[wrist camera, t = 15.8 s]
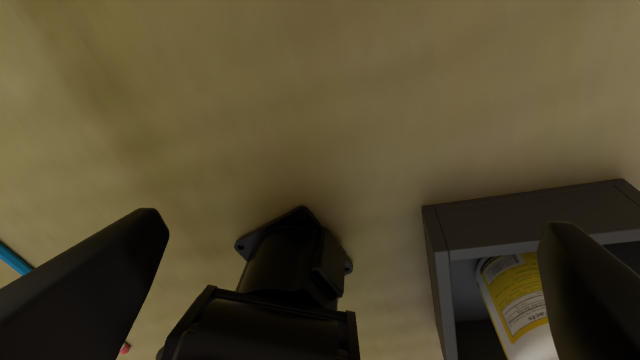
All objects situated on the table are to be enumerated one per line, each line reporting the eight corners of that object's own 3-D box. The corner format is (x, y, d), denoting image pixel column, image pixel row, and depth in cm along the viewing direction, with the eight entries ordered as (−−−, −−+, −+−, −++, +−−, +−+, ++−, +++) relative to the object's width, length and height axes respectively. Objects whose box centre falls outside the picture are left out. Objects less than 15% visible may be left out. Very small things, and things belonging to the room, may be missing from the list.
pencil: (126, 348, 34) (122, 355, 34) (-33, 222, 28) (-41, 228, 27) (131, 346, 34) (127, 353, 34) (-27, 218, 28) (-36, 224, 27)
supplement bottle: (544, 298, 25) (637, 459, 17) (466, 292, 26) (518, 446, 17) (571, 239, 23) (697, 394, 14) (483, 233, 23) (555, 381, 15)
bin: (436, 324, 29) (448, 379, 25) (421, 206, 23) (433, 252, 19) (598, 312, 26) (639, 371, 22) (623, 178, 21) (683, 223, 17)
